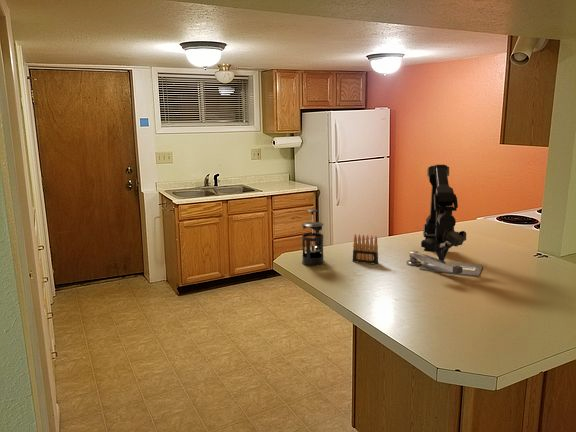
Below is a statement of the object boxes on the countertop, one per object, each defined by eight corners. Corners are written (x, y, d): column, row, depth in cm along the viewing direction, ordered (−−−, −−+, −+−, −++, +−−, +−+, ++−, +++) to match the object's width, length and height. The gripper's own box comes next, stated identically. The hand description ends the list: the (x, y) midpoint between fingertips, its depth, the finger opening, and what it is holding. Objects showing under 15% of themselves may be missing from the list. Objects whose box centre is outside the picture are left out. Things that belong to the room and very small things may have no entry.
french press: (317, 267, 193) (317, 213, 188) (297, 264, 198) (296, 211, 193) (329, 259, 203) (328, 207, 198) (309, 257, 208) (308, 206, 203)
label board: (419, 269, 188) (419, 267, 187) (427, 260, 200) (427, 258, 199) (478, 277, 177) (478, 275, 177) (482, 266, 190) (482, 264, 189)
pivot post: (404, 264, 194) (404, 258, 194) (408, 260, 199) (408, 254, 199) (419, 266, 191) (419, 260, 191) (422, 262, 197) (422, 256, 196)
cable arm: (407, 256, 196) (407, 251, 195) (414, 255, 197) (414, 250, 197) (455, 274, 173) (456, 268, 172) (463, 272, 174) (463, 266, 174)
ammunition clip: (352, 261, 200) (352, 234, 198) (353, 260, 202) (353, 233, 200) (377, 264, 196) (377, 236, 193) (378, 262, 198) (378, 235, 195)
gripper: (445, 231, 169) (443, 272, 172) (476, 223, 179) (474, 262, 182) (420, 225, 178) (419, 264, 181) (452, 218, 188) (450, 255, 191)
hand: (441, 261), depth 184 cm, fingers closed
